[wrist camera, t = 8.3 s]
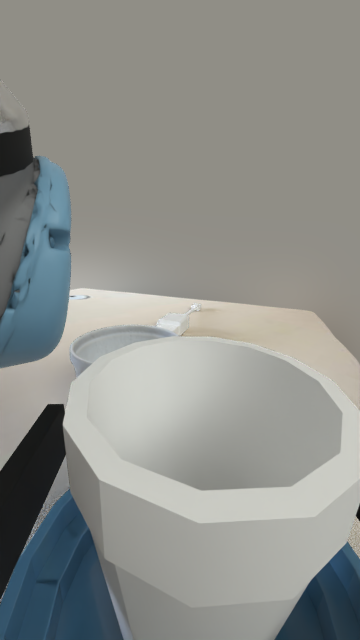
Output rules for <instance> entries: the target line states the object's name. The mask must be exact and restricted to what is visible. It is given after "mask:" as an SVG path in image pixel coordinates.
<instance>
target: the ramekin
mask: <svg viewBox="0 0 360 640" xmlns="http://www.w3.org/2000/svg"><path fill="white" fill-rule="evenodd" d="M172 336H179V335H178V334H176V333H174V332H172V331H170V330H168V329H164V328H161V327H156V326H148V325H119V326H111V327H105V328H101V329H97V330H94V331H91V332H88V333H85V334H83V335H82V336H80V337H78V338H77V339H75V340H74V341H73V342H72V344H71V345H70V360H71V362H72V364H73V365H74V367H75V372H76V377H78V376H79V375H80V374H81V373H82V372H84V371H85V370H86V369H87V368H88V367H89V366H90V365H91V364H92V363H93V362H95V361H96V360H97V359H98V358H99V357H100V356H103V355H105V354H108V353H110V352H113V351H115V350H118V349H120V348H123V347H125V346H127V345H130V344H132V343H135V342H141V341H147V340H153V339H159V338H165V337H172Z"/></svg>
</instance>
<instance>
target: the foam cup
mask: <svg viewBox="0 0 360 640" xmlns="http://www.w3.org/2000/svg"><path fill="white" fill-rule="evenodd" d="M63 432H64V441H65V449H66V458H67V467H68V475H69V484H70V492H71V494H72V496H73V498H74V500H75V502H76V504H77V506H78V508H79V510H80V512H81V514H82V516H83V518H84V519H85V521H86V523H87V525H88V527H89V529H90V531H91V534H92V538H93V541H94V544H95V547H96V551H97V554H98V557H99V560H100V564H101V567H102V570H103V574H104V577H105V580H106V583H107V587H108V590H109V593H110V597H111V600H112V603H113V606H114V610H115V613H116V616H117V619H118V623H119V626H120V629H121V633H122V636H123V639H124V640H274V639H275V638H276V636H277V635H278V633H279V631H280V630H281V628H282V626H283V625H284V623H285V621H286V620H287V618H288V617H289V615H290V613H291V612H292V610H293V608H294V607H295V605H296V603H297V602H298V600H299V599H300V597H301V595H302V594H303V592H304V590H305V589H306V587H307V585H308V584H309V582H310V581H311V580H312V579H313V577H314V576H315V575H316V574H317V573H318V572H319V571H320V570H321V569H322V568H323V567H324V566H325V565H326V564H327V563H328V562H329V561H330V560H331V559H332V558H333V556H334V555H335V554H336V553H337V552H338V551H339V550H340V549H341V548H342V547H343V546H344V545H345V544H346V543H347V540H348V537H349V534H350V531H351V528H352V525H353V522H354V519H355V516H356V513H357V510H358V507H359V504H360V410H359V409H358V408H357V407H356V406H355V405H354V404H353V402H352V401H351V400H350V399H349V398H348V397H347V396H346V394H345V393H344V392H343V391H342V390H341V389H340V388H339V386H338V385H337V384H336V383H335V382H334V381H333V380H331V379H329V378H328V377H326V376H324V375H322V374H321V373H319V372H317V371H316V370H314V369H312V368H311V367H309V366H307V365H305V364H304V363H302V362H300V361H299V360H297V359H295V358H293V357H291V356H288V355H285V354H282V353H279V352H276V351H273V350H270V349H267V348H264V347H261V346H258V345H255V344H252V343H247V342H241V341H235V340H229V339H223V338H216V337H191V336H172V337H165V338H159V339H153V340H147V341H141V342H135V343H132V344H130V345H127V346H125V347H123V348H120V349H118V350H115V351H113V352H110V353H108V354H105V355H103V356H100V357H99V358H98V359H97V360H96V361H95V362H93V363H92V364H91V365H90V366H89V367H88V368H87V369H86V370H85V371H84V372H82V373H81V374H80V375H79V376H78V377H77V378H76V379H75V380H74V381H73V382H72V383H71V386H70V391H69V396H68V401H67V406H66V411H65V415H64V420H63Z"/></svg>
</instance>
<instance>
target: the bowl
mask: <svg viewBox="0 0 360 640" xmlns="http://www.w3.org/2000/svg"><path fill="white" fill-rule="evenodd" d="M0 640H124V639H123V636H122V633H121V629H120V626H119V623H118V619H117V616H116V613H115V610H114V606H113V603H112V600H111V597H110V593H109V590H108V587H107V583H106V580H105V577H104V574H103V570H102V567H101V564H100V560H99V557H98V554H97V551H96V547H95V544H94V541H93V538H92V534H91V531H90V529H89V527H88V525H87V523H86V521H85V519H84V518H83V516H82V514H81V512H80V510H79V508H78V506H77V504H76V502H75V500H74V498H73V496H72V494H71V492H70V489H69V490H68V491H67V492H66V493H65V494H64V495H63V496H62V497H61V498H60V499H59V500H58V501H57V502H56V503H55V504H54V505H53V507H52V508H51V510H50V511H49V513H48V514H47V516H46V517H45V519H44V520H43V522H42V523H41V525H40V526H39V528H38V529H37V531H36V532H35V534H34V535H33V537H32V538H31V540H30V541H29V543H28V545H27V546H26V548H25V549H24V551H23V552H22V554H21V555H20V557H19V559H18V561H17V564H16V566H15V568H14V571H13V573H12V576H11V578H10V581H9V583H8V586H7V589H6V591H5V594H4V596H3V599H2V601H1V604H0ZM274 640H360V559H359V557H358V556H357V555H356V553H355V552H354V550H353V549H352V547H351V546H350V545H349V543H348V542H347V543H346V544H345V545H344V546H343V547H342V548H341V549H340V550H339V551H338V552H337V553H336V554H335V555H334V556H333V558H332V559H331V560H330V561H329V562H328V563H327V564H326V565H325V566H324V567H323V568H322V569H321V570H320V571H319V572H318V573H317V574H316V575H315V576H314V577H313V579H312V580H311V581H310V582H309V584H308V585H307V587H306V589H305V590H304V592H303V594H302V595H301V597H300V599H299V600H298V602H297V603H296V605H295V607H294V608H293V610H292V612H291V613H290V615H289V617H288V618H287V620H286V621H285V623H284V625H283V626H282V628H281V630H280V631H279V633H278V635H277V636H276V638H275V639H274Z"/></svg>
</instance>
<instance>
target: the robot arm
mask: <svg viewBox="0 0 360 640" xmlns="http://www.w3.org/2000/svg"><path fill="white" fill-rule="evenodd" d="M70 228H71V205H70V194H69V186H68V182H67V179H66V175H65V173H64V171H63V170H62V168H61V167H60V166H58V165H57V164H55V163H53V162H50V160H49V159H48V158H46V157H43V156H35V158H33V154H32V145H31V136H30V128H29V119H28V113H27V111H26V110H25V109H24V108H23V106H22V105H21V104H20V103H19V101H18V100H17V99H16V98H15V97H14V95H13V94H12V93H11V92H10V91H9V89H8V88H7V87H6V86H5V85H4V83H3V82H2V81H1V80H0V368H4V367H9V366H14V365H18V364H23V363H28V362H33V361H36V360H39V359H42V358H44V357H46V356H47V355H49V354H50V353H51V352H52V351H53V350H54V349H55V348H56V346H57V345H58V343H59V342H60V339H61V337H62V334H63V331H64V327H65V322H66V316H67V310H68V302H69V291H70V277H71V253H70V249H69V246H68V245H69V243H70ZM64 415H65V412H64V404H48V405H47V406H46V408H45V409H44V410H43V412H42V413H41V415H40V416H39V418H38V419H37V420H36V422H35V423H34V425H33V426H32V427H31V429H30V430H29V432H28V433H27V434H26V436H25V437H24V439H23V440H22V441H21V443H20V444H19V446H18V447H17V449H16V450H15V451H14V453H13V454H12V456H11V457H10V458H9V460H8V461H7V463H6V464H5V465H4V467H3V468H2V470H1V471H0V599H1V597H2V594H3V592H4V590H5V588H6V586H7V583H8V581H9V579H10V577H11V575H12V572H13V570H14V568H15V566H16V564H17V561H18V559H19V557H20V555H21V552H22V550H23V548H24V546H25V544H26V541H27V539H28V537H29V535H30V533H31V530H32V528H33V526H34V524H35V522H36V519H37V517H38V515H39V513H40V510H41V508H42V506H43V504H44V502H45V499H46V497H47V495H48V493H49V491H50V488H51V486H52V484H53V482H54V480H55V477H56V475H57V473H58V471H59V468H60V466H61V464H62V462H63V460H64V457H65V455H66V449H65V441H64V432H63V420H64ZM356 517H357V518H358V519H359V521H360V504H359V507H358V510H357V513H356Z"/></svg>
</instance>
